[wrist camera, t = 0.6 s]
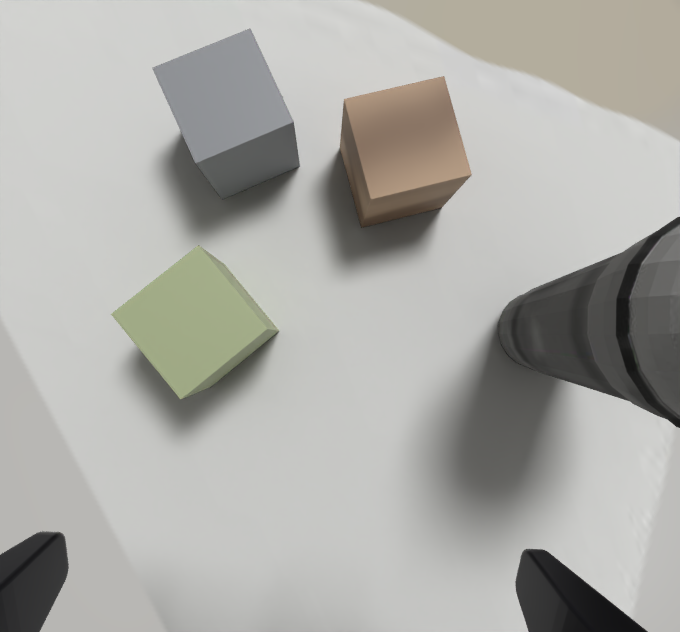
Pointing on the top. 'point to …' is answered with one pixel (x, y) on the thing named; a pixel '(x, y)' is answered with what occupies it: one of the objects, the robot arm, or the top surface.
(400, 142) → the walnut block
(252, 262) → the top surface
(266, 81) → the charcoal block
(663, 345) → the beverage cup
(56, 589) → the robot arm
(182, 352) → the olive block
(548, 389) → the top surface
